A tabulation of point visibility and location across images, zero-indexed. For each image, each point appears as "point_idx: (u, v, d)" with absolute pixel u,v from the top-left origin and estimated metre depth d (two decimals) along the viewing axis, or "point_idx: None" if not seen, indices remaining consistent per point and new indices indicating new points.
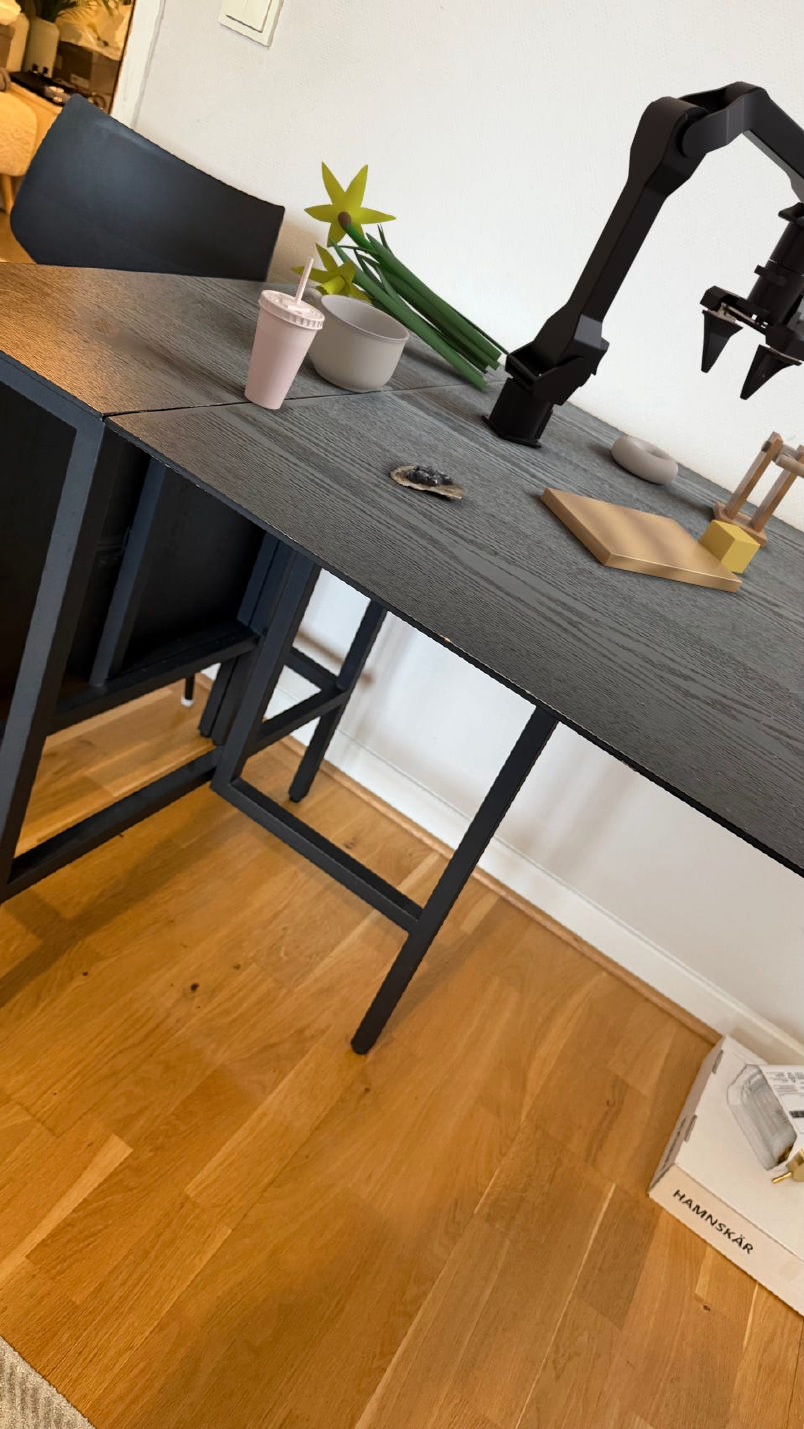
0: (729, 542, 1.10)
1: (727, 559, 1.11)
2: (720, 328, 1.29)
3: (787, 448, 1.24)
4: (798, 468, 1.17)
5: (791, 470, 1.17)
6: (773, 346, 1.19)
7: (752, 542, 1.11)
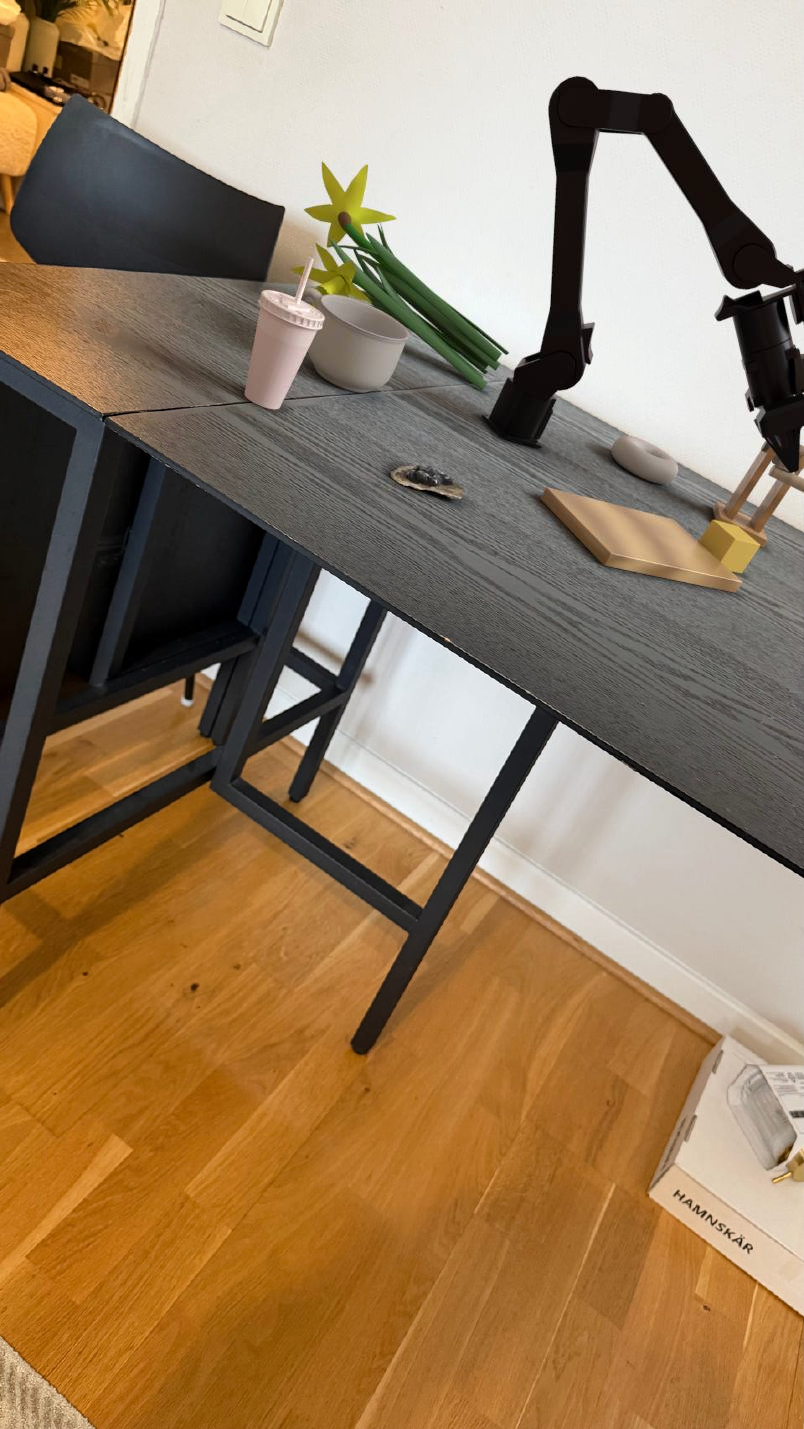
0: (729, 542, 1.10)
1: (727, 559, 1.11)
2: None
3: None
4: (790, 479, 1.17)
5: (783, 481, 1.18)
6: (761, 434, 1.09)
7: (752, 542, 1.11)
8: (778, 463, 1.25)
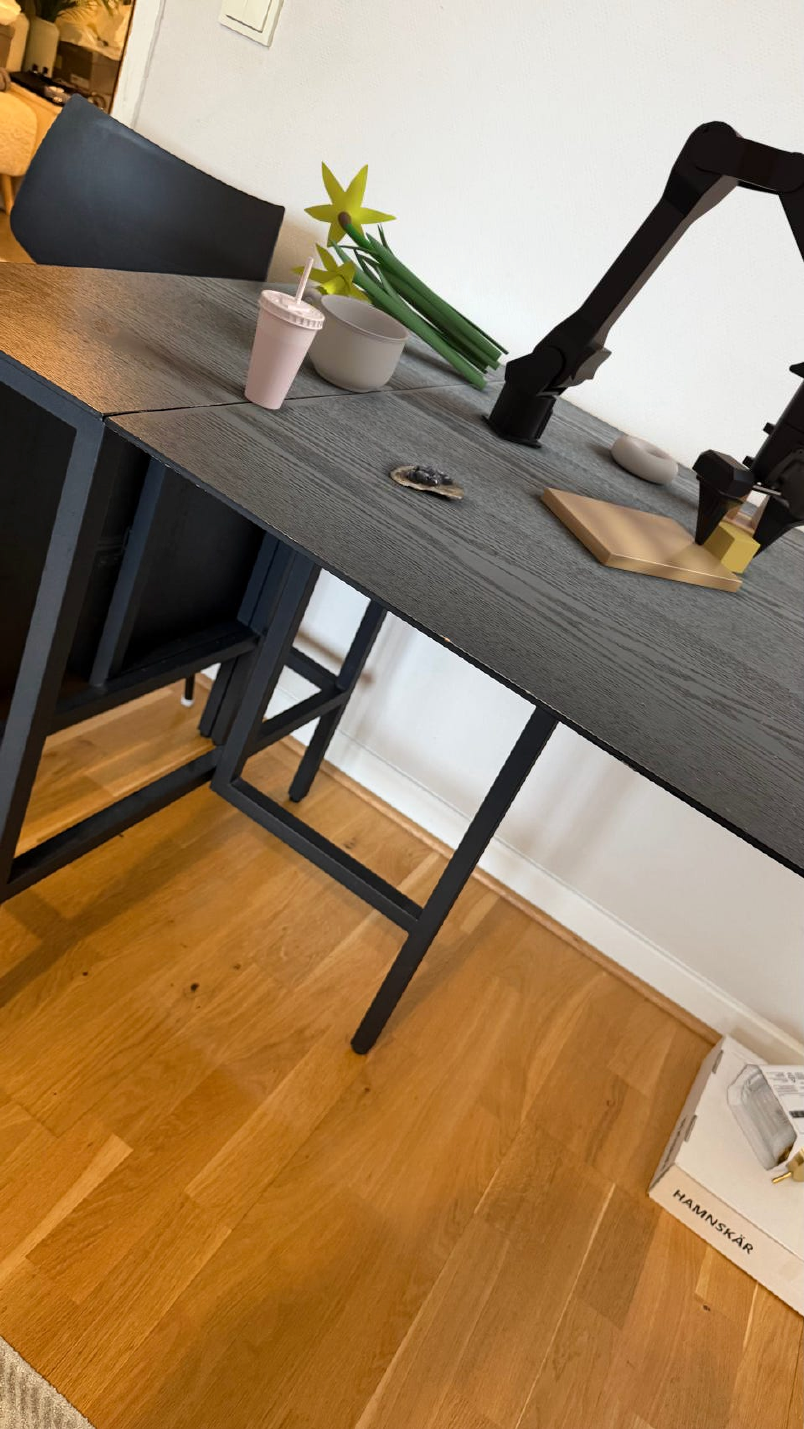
0: (729, 542, 1.10)
1: (727, 559, 1.11)
2: (775, 511, 1.13)
3: None
4: None
5: None
6: None
7: (752, 542, 1.11)
8: None
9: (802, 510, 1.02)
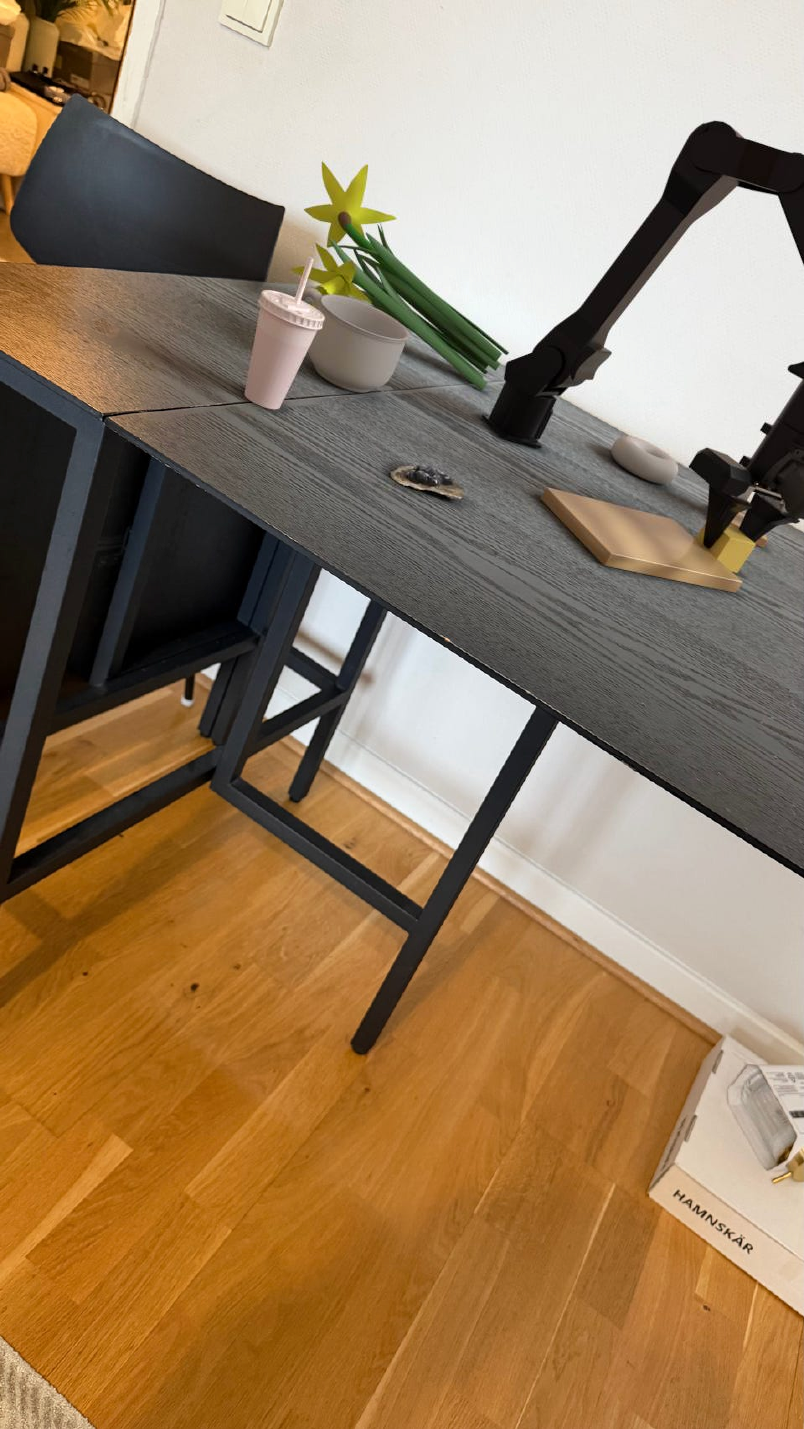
0: (725, 541, 1.09)
1: (723, 558, 1.11)
2: (759, 509, 1.12)
3: None
4: None
5: None
6: None
7: (747, 541, 1.11)
8: None
9: (798, 510, 1.02)
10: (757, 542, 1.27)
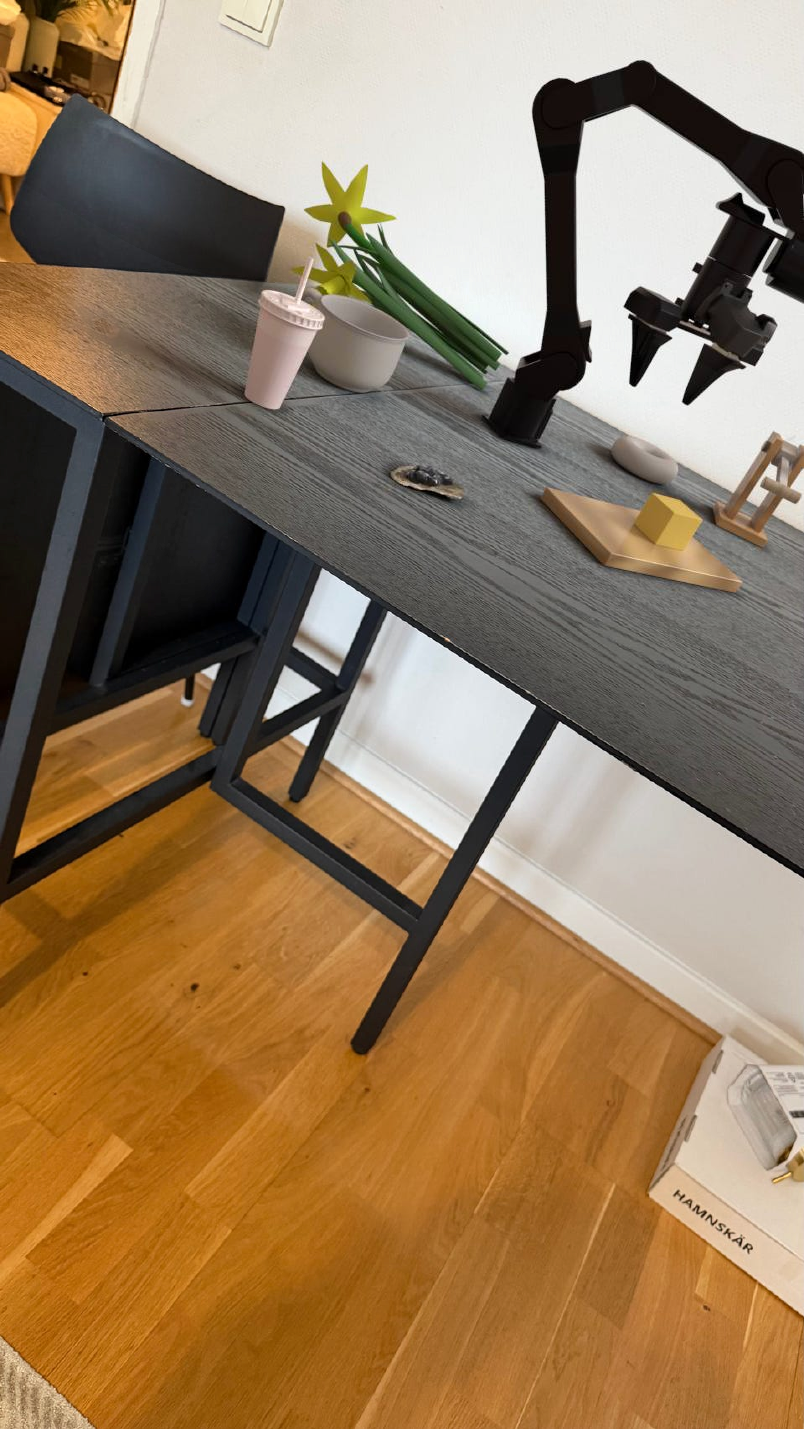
0: (668, 516, 1.02)
1: (667, 534, 1.03)
2: (708, 357, 1.18)
3: (785, 453, 1.24)
4: (781, 492, 1.19)
5: (774, 493, 1.19)
6: None
7: (693, 516, 1.03)
8: (777, 464, 1.25)
9: (727, 340, 1.06)
10: (757, 542, 1.27)
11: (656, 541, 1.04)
